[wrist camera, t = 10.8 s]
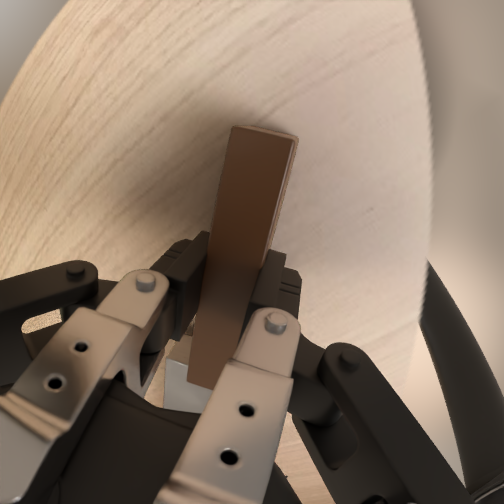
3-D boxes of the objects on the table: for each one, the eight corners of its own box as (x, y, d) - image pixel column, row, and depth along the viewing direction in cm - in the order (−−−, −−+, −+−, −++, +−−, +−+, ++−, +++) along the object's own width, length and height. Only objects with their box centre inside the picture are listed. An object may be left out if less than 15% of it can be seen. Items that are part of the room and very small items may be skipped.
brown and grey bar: (217, 118, 11) (187, 116, 8) (334, 147, 11) (343, 153, 8) (172, 419, 18) (156, 453, 16) (236, 439, 18) (225, 476, 15)
